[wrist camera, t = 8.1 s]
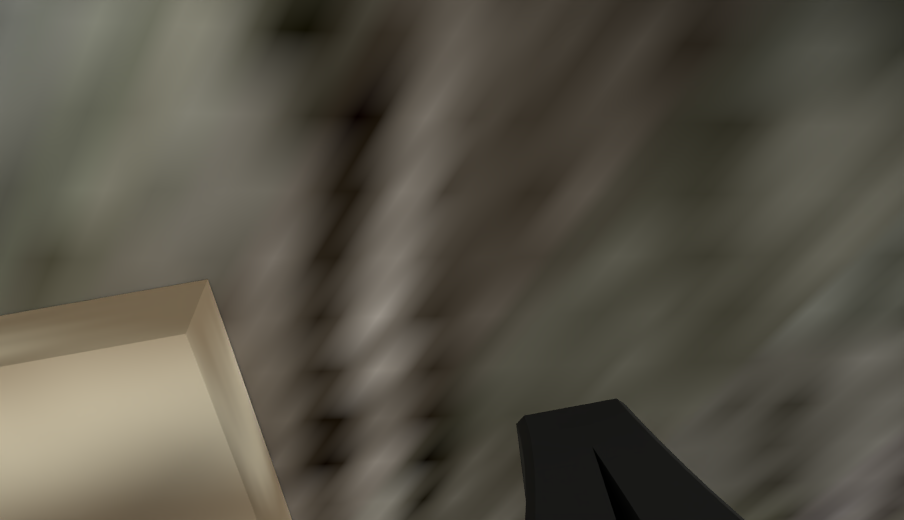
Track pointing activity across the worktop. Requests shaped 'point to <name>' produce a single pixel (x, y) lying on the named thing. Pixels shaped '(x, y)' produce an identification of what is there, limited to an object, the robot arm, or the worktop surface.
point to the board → (129, 414)
